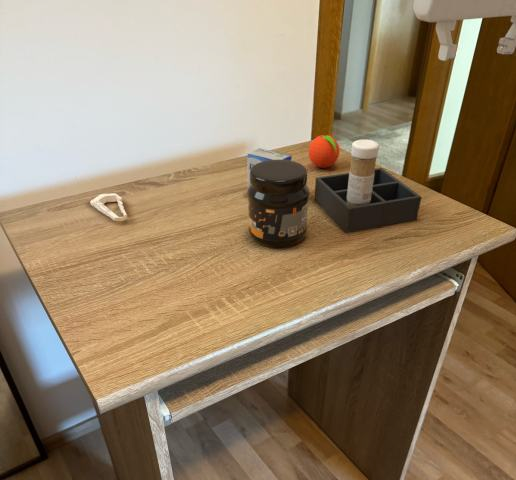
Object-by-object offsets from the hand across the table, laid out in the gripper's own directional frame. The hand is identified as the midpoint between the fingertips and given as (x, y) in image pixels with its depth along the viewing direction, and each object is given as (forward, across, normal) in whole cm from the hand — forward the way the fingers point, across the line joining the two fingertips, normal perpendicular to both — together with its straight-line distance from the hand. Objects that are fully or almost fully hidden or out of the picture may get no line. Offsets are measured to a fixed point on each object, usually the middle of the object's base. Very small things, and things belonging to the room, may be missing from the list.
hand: (475, 56), depth 66 cm
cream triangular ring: (+28, +51, -32) cm, 67 cm away
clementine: (+29, +3, -38) cm, 48 cm away
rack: (+29, +5, -16) cm, 33 cm away
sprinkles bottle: (+28, +8, -12) cm, 32 cm away
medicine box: (+29, +20, -28) cm, 45 cm away
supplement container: (+29, +24, -12) cm, 39 cm away
